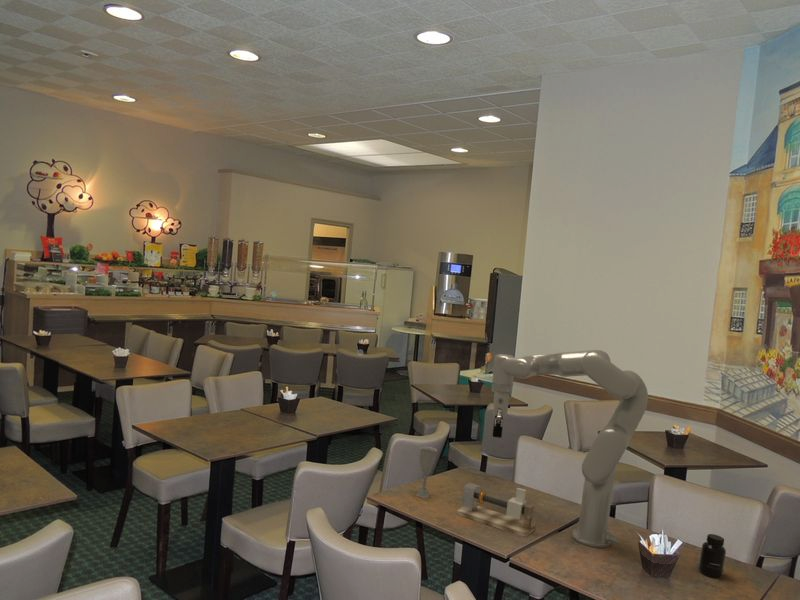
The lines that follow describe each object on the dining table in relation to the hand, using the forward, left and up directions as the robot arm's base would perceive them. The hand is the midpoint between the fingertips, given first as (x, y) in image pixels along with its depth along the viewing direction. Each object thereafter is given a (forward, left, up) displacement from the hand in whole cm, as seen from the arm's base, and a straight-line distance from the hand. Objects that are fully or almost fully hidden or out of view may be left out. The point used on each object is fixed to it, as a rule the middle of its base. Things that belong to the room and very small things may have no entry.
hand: (497, 433), depth 234 cm
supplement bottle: (-74, -6, -29) cm, 80 cm away
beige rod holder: (-6, +8, -29) cm, 31 cm away
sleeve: (-13, +8, -24) cm, 29 cm away
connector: (+3, +8, -27) cm, 29 cm away
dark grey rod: (-6, +8, -23) cm, 25 cm away
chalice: (+25, +6, -29) cm, 38 cm away
